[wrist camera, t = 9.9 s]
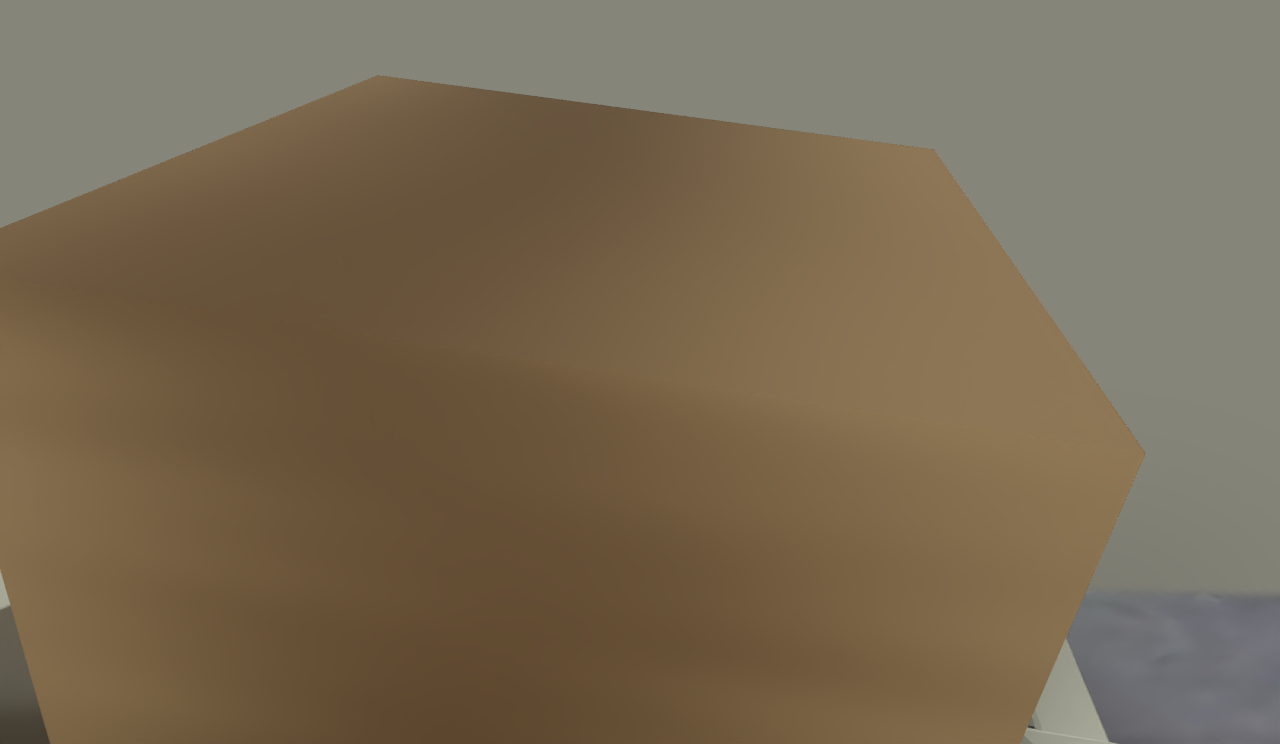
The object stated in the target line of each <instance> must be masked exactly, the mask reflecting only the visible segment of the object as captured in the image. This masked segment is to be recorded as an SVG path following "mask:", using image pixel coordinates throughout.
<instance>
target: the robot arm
mask: <svg viewBox="0 0 1280 744" xmlns="http://www.w3.org/2000/svg"><path fill="white" fill-rule="evenodd" d="M0 744H50V741H49V738H48V734H47V731H46V727H45V724H44V721H43V717H42V714H41V710H40V707H39V703H38V700H37V696H36V693H35V689H34V686H33V682H32V679H31V675H30V672H29V668H28V665H27V661H26V658H25V654H24V651H23V647H22V644H21V640H20V637H19V633H18V630H17V626H16V623H15V619H14V616H13V613H12V609H11V606H10V602H9V599H8V595H7V592H6V588H5V585H4V581H3V578H2V574H1V571H0ZM1020 744H1116V743H1111V742H1110V741H1109V739H1108V736H1107V734H1106V731H1105V729H1104V727H1103V724H1102V722H1101V720H1100V717H1099V715H1098V712H1097V710H1096V708H1095V705H1094V703H1093V701H1092V698H1091V696H1090V693H1089V691H1088V689H1087V686H1086V684H1085V681H1084V679H1083V677H1082V674H1081V672H1080V670H1079V667H1078V665H1077V662H1076V660H1075V658H1074V655H1073V653H1072V651H1071V648H1070V646H1069V643H1068V641H1067V639H1065V641H1064V643H1063V646H1062V648H1061V650H1060V653H1059V655H1058V657H1057V660H1056V662H1055V664H1054V667H1053V669H1052V671H1051V674H1050V676H1049V678H1048V680H1047V683H1046V685H1045V687H1044V690H1043V692H1042V694H1041V697H1040V699H1039V701H1038V704H1037V706H1036V708H1035V711H1034V713H1033V715H1032V718H1031V720H1030V722H1029V724H1028V727H1027V729H1026V731H1025V734H1024V736H1023V738H1022V741H1021V743H1020Z"/></svg>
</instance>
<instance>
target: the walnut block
mask: <svg viewBox="0 0 1280 744" xmlns="http://www.w3.org/2000/svg"><path fill="white" fill-rule="evenodd" d="M1144 456H1145V451H1144V450H1143V449H1142V447H1141V446H1140V444H1139V443H1138V441H1137V440H1136V439H1135V437H1134V436H1133V434H1132V433H1131V431H1130V430H1129V428H1128V427H1127V426H1126V424H1125V423H1124V421H1123V420H1122V418H1121V417H1120V416H1119V414H1118V413H1117V411H1116V410H1115V408H1114V407H1113V406H1112V404H1111V403H1110V401H1109V400H1108V398H1107V397H1106V396H1105V394H1104V393H1103V391H1102V390H1101V388H1100V387H1099V385H1098V384H1097V383H1096V381H1095V380H1094V378H1093V377H1092V375H1091V374H1090V373H1089V371H1088V370H1087V368H1086V367H1085V365H1084V364H1083V363H1082V361H1081V360H1080V358H1079V357H1078V355H1077V354H1076V352H1075V351H1074V350H1073V348H1072V347H1071V345H1070V344H1069V342H1068V341H1067V340H1066V338H1065V337H1064V335H1063V334H1062V332H1061V331H1060V330H1059V328H1058V327H1057V325H1056V324H1055V322H1054V321H1053V319H1052V318H1051V317H1050V315H1049V314H1048V312H1047V311H1046V309H1045V308H1044V307H1043V305H1042V304H1041V302H1040V301H1039V299H1038V298H1037V297H1036V295H1035V294H1034V292H1033V291H1032V289H1031V288H1030V287H1029V285H1028V284H1027V282H1026V281H1025V279H1024V278H1023V276H1022V275H1021V274H1020V273H1019V271H1018V270H1017V268H1016V266H1015V265H1014V264H1013V262H1012V261H1011V259H1010V258H1009V256H1008V255H1007V254H1006V252H1005V251H1004V249H1003V248H1002V246H1001V245H1000V243H999V242H998V241H997V239H996V238H995V236H994V235H993V234H992V232H991V231H990V229H989V228H988V226H987V225H986V223H985V222H984V221H983V219H982V218H981V216H980V215H979V214H978V212H977V211H976V209H975V208H974V206H973V205H972V203H971V202H970V201H969V199H968V198H967V196H966V195H965V193H964V192H963V190H962V189H961V188H960V186H959V185H958V183H957V182H956V180H955V179H954V178H953V176H952V175H951V173H950V172H949V170H948V169H947V167H946V166H945V165H944V163H943V162H942V160H941V159H940V157H939V156H938V155H937V153H936V152H935V150H934V149H927V148H919V147H911V146H904V145H897V144H888V143H882V142H874V141H866V140H859V139H852V138H844V137H836V136H829V135H822V134H814V133H806V132H799V131H791V130H784V129H776V128H769V127H762V126H754V125H747V124H739V123H731V122H723V121H717V120H709V119H701V118H694V117H686V116H678V115H672V114H664V113H657V112H649V111H641V110H634V109H627V108H619V107H611V106H604V105H597V104H589V103H581V102H573V101H567V100H559V99H552V98H544V97H537V96H529V95H522V94H514V93H506V92H499V91H492V90H484V89H476V88H469V87H462V86H454V85H446V84H439V83H432V82H424V81H417V80H409V79H402V78H394V77H386V76H379V75H378V76H375V77H372V78H370V79H367V80H365V81H362V82H360V83H357V84H355V85H352V86H350V87H347V88H345V89H343V90H340V91H338V92H335V93H333V94H330V95H328V96H325V97H323V98H320V99H318V100H316V101H313V102H311V103H308V104H306V105H303V106H301V107H298V108H296V109H294V110H291V111H288V112H286V113H283V114H281V115H278V116H276V117H274V118H271V119H269V120H266V121H264V122H261V123H259V124H256V125H254V126H251V127H249V128H246V129H244V130H242V131H239V132H237V133H234V134H232V135H229V136H227V137H224V138H222V139H219V140H217V141H215V142H212V143H209V144H207V145H205V146H202V147H200V148H197V149H195V150H192V151H190V152H187V153H185V154H182V155H180V156H177V157H175V158H172V159H170V160H167V161H165V162H163V163H160V164H158V165H155V166H153V167H151V168H148V169H145V170H143V171H140V172H138V173H135V174H133V175H131V176H128V177H126V178H123V179H121V180H118V181H116V182H113V183H111V184H108V185H106V186H103V187H101V188H98V189H96V190H94V191H92V192H89V193H86V194H84V195H82V196H79V197H76V198H74V199H71V200H69V201H66V202H64V203H61V204H59V205H57V206H54V207H52V208H49V209H47V210H44V211H42V212H39V213H37V214H34V215H32V216H29V217H27V218H25V219H22V220H20V221H17V222H15V223H12V224H10V225H7V226H5V227H2V228H0V571H1V574H2V578H3V581H4V585H5V588H6V592H7V595H8V599H9V602H10V606H11V609H12V613H13V616H14V619H15V623H16V626H17V630H18V633H19V637H20V640H21V644H22V647H23V651H24V654H25V658H26V661H27V665H28V668H29V672H30V675H31V679H32V682H33V686H34V689H35V693H36V696H37V700H38V703H39V707H40V710H41V714H42V717H43V721H44V724H45V727H46V731H47V734H48V738H49V741H50V744H1020V743H1021V741H1022V738H1023V736H1024V734H1025V731H1026V729H1027V727H1028V724H1029V722H1030V720H1031V718H1032V715H1033V713H1034V711H1035V708H1036V706H1037V704H1038V701H1039V699H1040V697H1041V694H1042V692H1043V690H1044V687H1045V685H1046V683H1047V680H1048V678H1049V676H1050V674H1051V671H1052V669H1053V667H1054V664H1055V662H1056V660H1057V657H1058V655H1059V653H1060V650H1061V648H1062V646H1063V643H1064V641H1065V639H1066V636H1067V634H1068V632H1069V630H1070V627H1071V625H1072V623H1073V620H1074V618H1075V616H1076V613H1077V611H1078V609H1079V606H1080V604H1081V602H1082V599H1083V597H1084V595H1085V592H1086V590H1087V588H1088V585H1089V583H1090V581H1091V578H1092V576H1093V574H1094V572H1095V569H1096V567H1097V565H1098V562H1099V560H1100V558H1101V555H1102V553H1103V551H1104V548H1105V546H1106V544H1107V541H1108V539H1109V537H1110V534H1111V532H1112V530H1113V527H1114V525H1115V523H1116V521H1117V518H1118V516H1119V514H1120V511H1121V508H1122V507H1123V504H1124V502H1125V500H1126V497H1127V495H1128V493H1129V490H1130V488H1131V486H1132V484H1133V481H1134V479H1135V476H1136V474H1137V472H1138V470H1139V467H1140V465H1141V463H1142V460H1143V458H1144Z"/></svg>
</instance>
